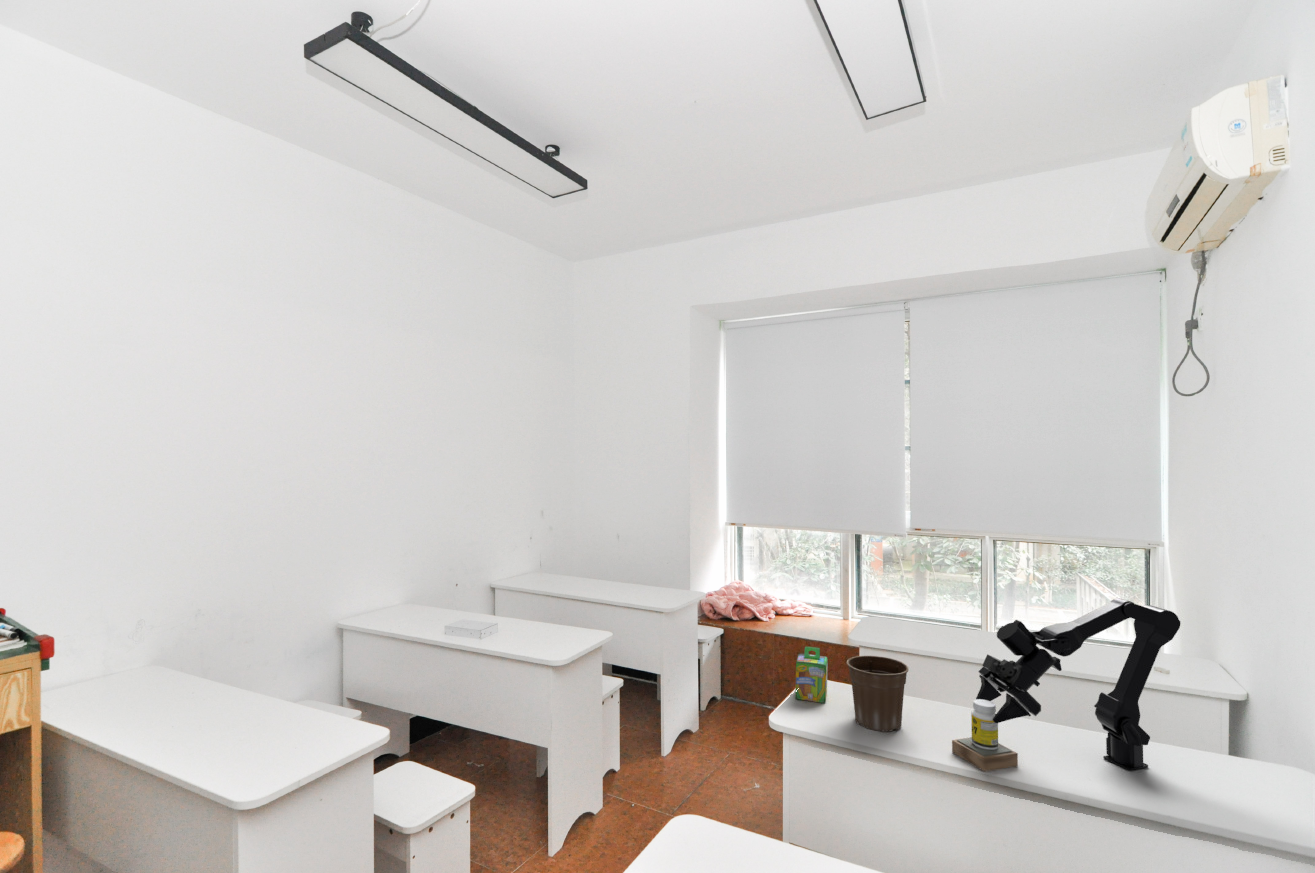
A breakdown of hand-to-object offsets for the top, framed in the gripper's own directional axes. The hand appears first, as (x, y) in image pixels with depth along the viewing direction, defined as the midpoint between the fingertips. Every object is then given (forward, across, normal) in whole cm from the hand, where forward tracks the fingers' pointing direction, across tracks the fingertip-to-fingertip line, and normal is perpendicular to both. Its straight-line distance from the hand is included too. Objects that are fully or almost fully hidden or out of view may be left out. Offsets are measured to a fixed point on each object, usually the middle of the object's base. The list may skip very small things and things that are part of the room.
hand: (984, 713), depth 149 cm
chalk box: (+32, -38, -16) cm, 52 cm away
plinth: (+8, 0, +8) cm, 11 cm away
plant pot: (+22, -20, -6) cm, 30 cm away
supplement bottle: (+6, 0, +6) cm, 8 cm away
